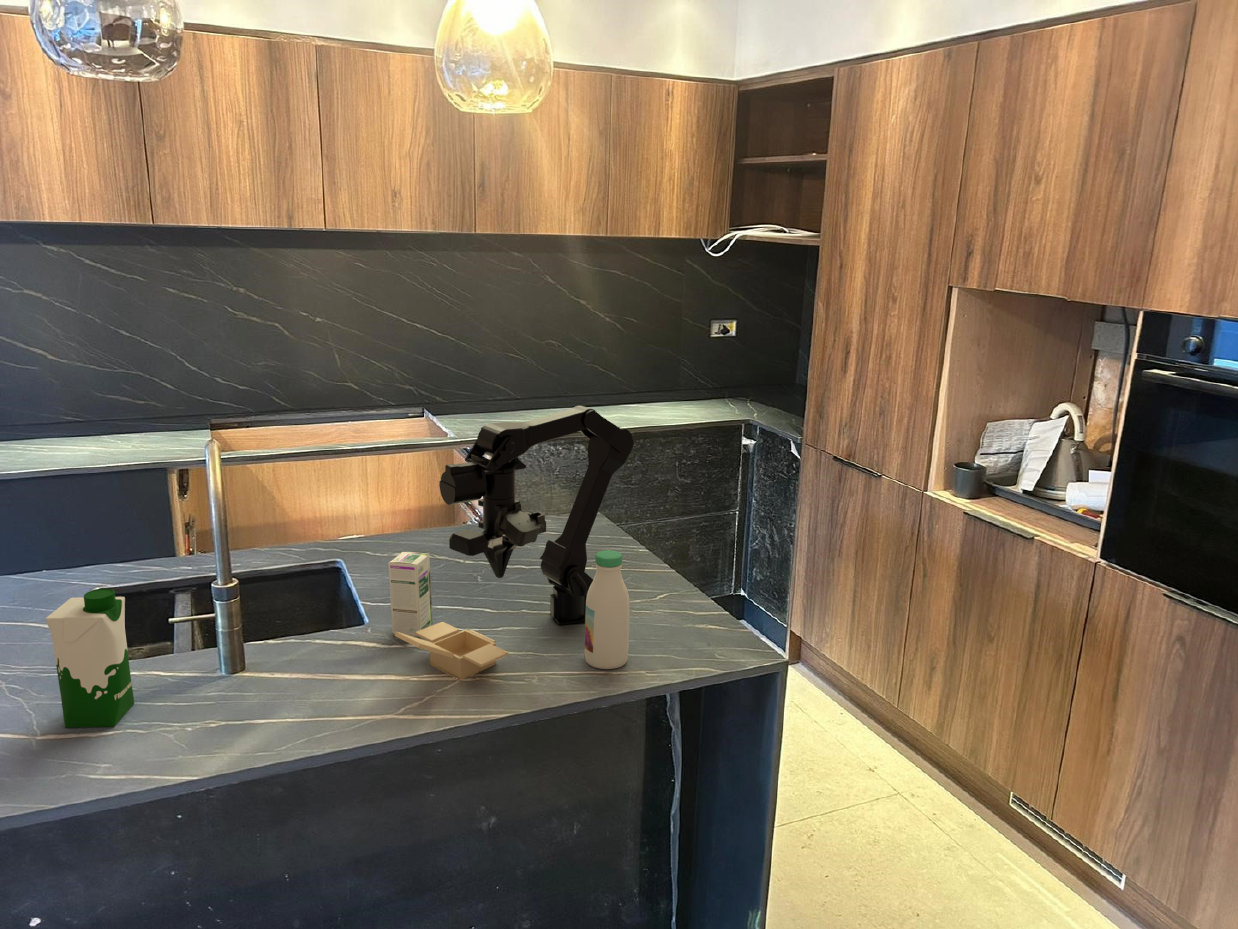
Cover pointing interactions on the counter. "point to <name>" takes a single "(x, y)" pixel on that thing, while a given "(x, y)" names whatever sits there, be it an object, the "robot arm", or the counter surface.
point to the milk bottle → (607, 614)
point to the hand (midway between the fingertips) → (499, 577)
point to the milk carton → (92, 659)
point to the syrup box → (410, 593)
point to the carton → (461, 650)
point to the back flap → (424, 644)
